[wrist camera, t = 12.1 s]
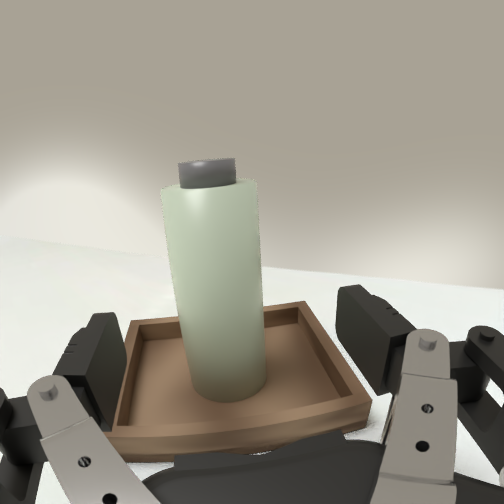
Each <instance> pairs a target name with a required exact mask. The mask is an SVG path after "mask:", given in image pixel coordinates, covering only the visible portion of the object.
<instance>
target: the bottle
mask: <svg viewBox="0 0 504 504" xmlns="http://www.w3.org/2000/svg"><path fill="white" fill-rule="evenodd" d="M178 167H179V179H180V184H176V185H171V186H168V187H165V188H162V189H161V190H160V192H161V201H162V209H163V218H164V226H165V234H166V241H167V248H168V255H169V262H170V269H171V275H172V281H173V288H174V294H175V300H176V305H177V311H178V316H179V322H180V327H181V333H182V338H183V343H184V348H185V353H186V358H187V362H188V367H189V372H190V376H191V381H192V385H193V387H194V389H195V391H196V392H197V393H198V394H199V395H201V396H202V397H204V398H206V399H208V400H212V401H216V402H236V401H241V400H244V399H247V398H249V397H251V396H253V395H254V394H256V393H257V392H258V391H259V390H260V389H261V388H262V387H263V385H264V384H265V381H266V358H265V336H264V315H263V294H262V274H261V254H260V236H259V216H258V199H257V181H256V180H253V179H242V178H240V179H239V178H236V170H235V158H222V159H208V160H198V161H190V162H184V163H178Z"/></svg>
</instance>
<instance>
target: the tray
mask: <svg viewBox="0 0 504 504" xmlns="http://www.w3.org/2000/svg"><path fill="white" fill-rule="evenodd" d="M263 315H264V336H265V358H266V381H265V384H264V385H263V387H262V388H261V389H260V390H259V391H258V392H257V393H256V394H254V395H253V396H251V397H249V398H247V399H244V400H241V401H236V402H216V401H212V400H208V399H206V398H204V397H202V396H201V395H199V394H198V393H197V392H196V391H195V389H194V387H193V385H192V381H191V376H190V372H189V367H188V362H187V358H186V353H185V348H184V343H183V338H182V333H181V327H180V322H179V316H177V317H166V318H155V319H144V320H131V322H130V325H129V329H128V332H127V335H126V338H125V342H124V345H125V349H126V353H127V367H126V371H125V375H124V379H123V383H122V387H121V391H120V395H119V400H118V404H117V409H116V413H115V418H114V423H113V427H112V432H103V433H104V435H105V436H106V438H107V439H108V440H109V442H110V443H111V444H112V446H113V447H114V448H115V450H116V451H117V452H118V454H119V455H120V456H121V458H122V459H123V460H124V461H125V462H174V455H187V454H201V453H212V452H220V453H232V454H253V453H260V452H265V451H271V450H276V449H279V448H281V447H284V446H286V445H288V444H291V443H293V442H296V441H298V440H300V439H303V438H307V437H312V436H316V435H320V434H325V433H329V432H333V431H336V430H340V429H341V431H342V433H343V434H345V433H348V432H352V431H355V430H359V429H362V428H365V427H366V423H367V420H368V416H369V412H370V408H371V404H372V399H371V397H370V396H369V394H368V393H367V391H366V390H365V388H364V387H363V385H362V384H361V382H360V381H359V380H358V378H357V377H356V375H355V374H354V372H353V371H352V369H351V368H350V366H349V365H348V363H347V362H346V360H345V359H344V357H343V356H342V354H341V353H340V351H339V350H338V349H337V347H336V346H335V344H334V343H333V341H332V340H331V338H330V337H329V335H328V334H327V332H326V331H325V330H324V328H323V327H322V325H321V324H320V322H319V321H318V319H317V318H316V316H315V315H314V314H313V312H312V311H311V309H310V308H309V306H308V305H307V303H306V302H305V301H300V302H293V303H286V304H279V305H272V306H264V307H263Z"/></svg>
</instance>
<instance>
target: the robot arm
mask: <svg viewBox="0 0 504 504" xmlns="http://www.w3.org/2000/svg"><path fill="white" fill-rule="evenodd" d="M335 327H336V334H337V337H338V339H339V341H340V343H341V344H342V345H343V347H344V348H345V350H346V351H347V353H348V354H349V356H350V357H351V358H352V360H353V361H354V363H355V364H356V366H357V367H358V368H359V370H360V371H361V373H362V374H363V376H364V377H365V379H366V380H367V381H368V383H369V384H370V386H371V387H372V389H373V390H374V392H375V393H376V395H377V396H380V395H383V394H386V393H389V392H390V393H391V394H392V398H391V402H390V406H389V410H388V414H387V418H386V422H385V426H384V429H383V433H382V436H381V440H380V443H377V442H372V441H365V440H346V439H345V437H344V435H343V433H342V431H341V429H340V430H336V431H333V432H329V433H325V434H320V435H316V436H312V437H307V438H303V439H300V440H298V441H296V442H293V443H291V444H288V445H286V446H284V447H281V448H279V449H276V450H274V451H271V452H269V453H266V454H262V455H247V454H232V453H220V452H212V453H201V454H187V455H174V467H172V468H168V469H165V470H162V471H160V472H157V473H155V474H153V475H151V476H149V477H148V478H146V479H144V480H143V481H142V482H141V481H140V480H139V478H138V477H137V476H136V475H135V474H134V472H133V471H132V470H131V469H130V468H129V466H128V465H127V464H126V463H125V461H124V460H123V459H122V458H121V456H120V455H119V454H118V452H117V451H116V450H115V448H114V447H113V446H112V444H111V443H110V442H109V440H108V439H107V438H106V436H105V435H104V433H103V432H112V427H113V423H114V418H115V413H116V409H117V404H118V400H119V395H120V391H121V387H122V383H123V379H124V375H125V371H126V367H127V353H126V349H125V345H124V342H123V338H122V335H121V331H120V328H119V324H118V320H117V317H116V315H115V313H114V312H109V313H95V314H93V315H92V317H91V319H90V321H89V323H88V325H87V327H86V328H81V329H80V330H79V331H78V332H76V333H75V334H74V335H73V336H72V338H71V340H70V342H69V343H68V346H67V347H66V349H65V351H64V354H63V355H62V356H61V358H60V360H59V362H58V364H57V366H56V368H55V370H54V372H53V374H52V375H50V376H45V377H42V378H40V379H38V380H37V381H35V382H34V383H33V384H32V385H31V386H30V388H29V389H28V392H27V396H23V397H17V398H12V399H8V398H7V396H6V394H5V393H4V391H3V389H2V388H0V451H1V452H2V454H3V457H2V460H1V462H0V504H35V500H36V495H37V491H38V486H39V481H40V477H41V473H42V468H43V464H44V462H47V461H49V462H50V465H51V467H52V469H53V471H54V473H55V475H56V477H57V479H58V481H59V483H60V485H61V486H62V488H63V490H64V492H65V494H66V496H67V497H68V499H69V501H70V503H71V504H504V404H503V406H502V408H501V407H500V406H499V404H498V403H497V402H496V401H495V400H494V399H493V398H492V397H491V395H490V394H489V393H488V392H487V391H486V387H487V385H488V383H489V381H490V378H491V379H492V380H493V381H494V382H495V383H496V385H497V386H498V387H499V388H500V389H501V390H502V392H503V394H504V335H503V334H501V333H500V332H499V331H497V330H496V329H494V328H491V327H488V326H475V327H472V328H471V329H470V330H469V332H468V335H467V338H466V341H458V342H449V341H448V339H447V338H446V337H445V336H444V335H443V334H441V333H439V332H437V331H434V330H430V329H416V328H415V327H414V326H413V325H412V324H411V323H410V322H409V321H408V320H407V319H406V318H404V317H403V316H402V315H401V314H399V312H398V311H397V310H396V309H395V308H393V307H392V306H391V305H390V304H389V303H388V302H387V301H386V300H384V299H382V298H380V297H377V296H375V295H371V294H370V293H369V292H368V291H367V290H366V289H364V288H363V287H362V286H361V285H359V284H358V285H351V286H345V287H340V288H339V290H338V296H337V311H336V324H335ZM457 417H458V419H459V420H460V421H461V423H462V424H463V425H464V427H465V428H466V429H467V431H468V432H469V433H470V435H471V436H472V438H473V439H474V440H475V442H476V443H477V444H478V446H479V447H480V449H481V450H482V451H483V453H484V454H485V456H486V457H487V458H488V460H489V461H490V463H491V464H492V466H493V467H494V468H495V470H496V471H497V473H498V474H499V483H500V486H497V485H494V484H490V483H487V482H484V481H480V480H477V479H474V478H471V477H468V476H465V475H462V474H459V473H456V472H454V464H455V453H456V437H457Z"/></svg>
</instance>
